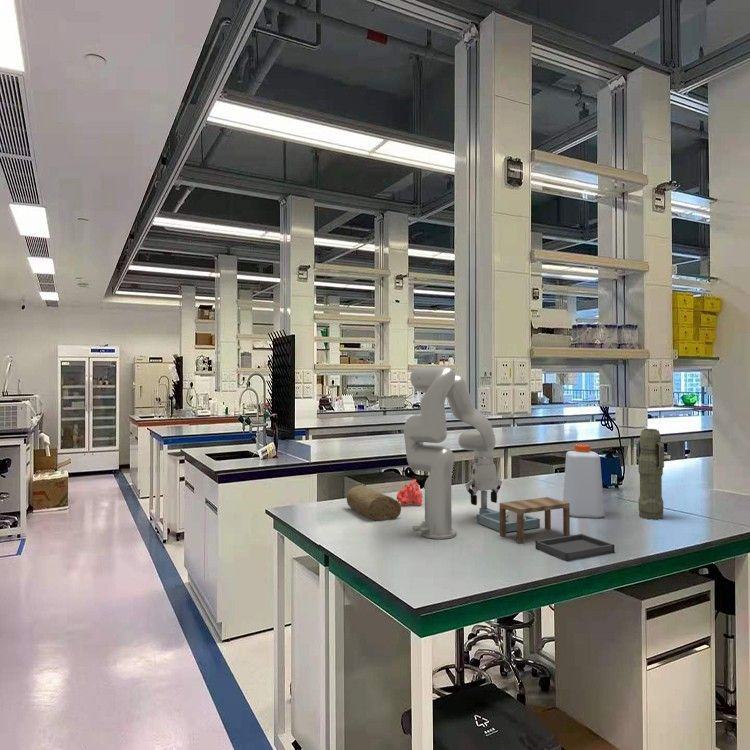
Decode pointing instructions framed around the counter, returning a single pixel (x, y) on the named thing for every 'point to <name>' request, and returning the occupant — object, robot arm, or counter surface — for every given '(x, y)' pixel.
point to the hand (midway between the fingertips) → (484, 503)
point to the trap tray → (574, 547)
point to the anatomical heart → (410, 494)
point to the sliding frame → (493, 517)
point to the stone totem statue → (650, 474)
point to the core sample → (373, 503)
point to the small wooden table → (534, 506)
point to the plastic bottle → (583, 483)
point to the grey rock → (512, 516)
